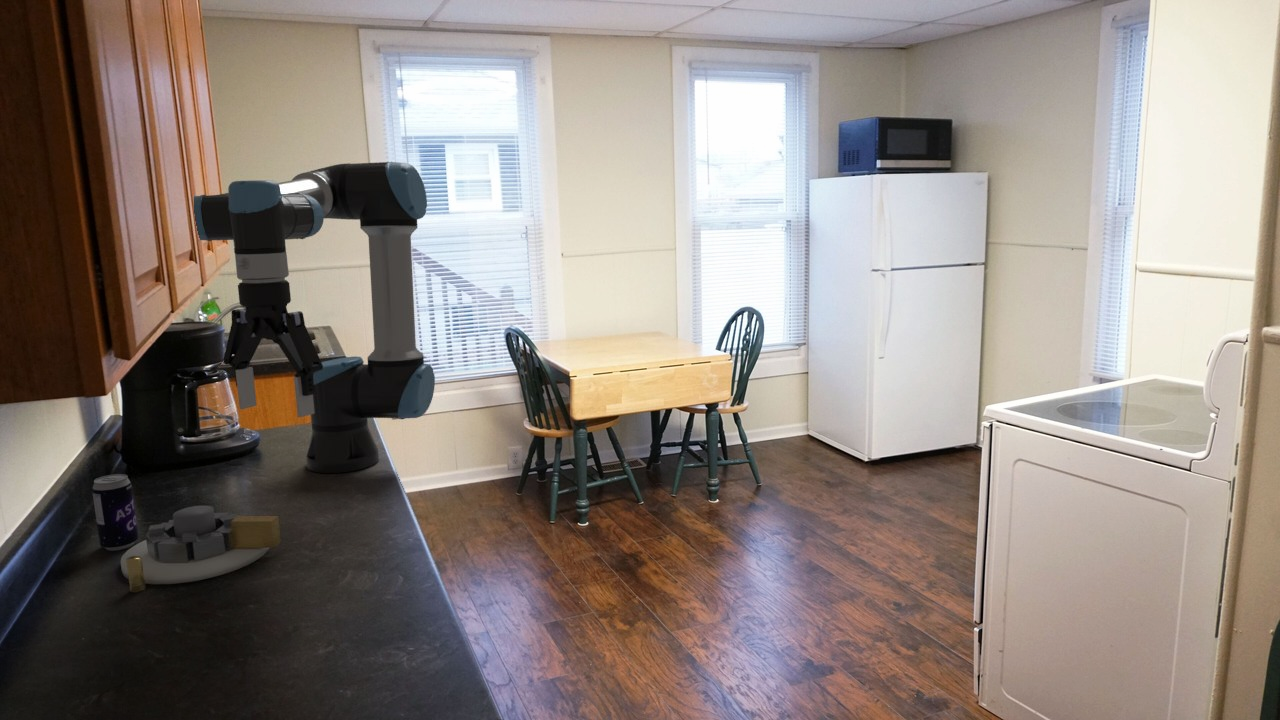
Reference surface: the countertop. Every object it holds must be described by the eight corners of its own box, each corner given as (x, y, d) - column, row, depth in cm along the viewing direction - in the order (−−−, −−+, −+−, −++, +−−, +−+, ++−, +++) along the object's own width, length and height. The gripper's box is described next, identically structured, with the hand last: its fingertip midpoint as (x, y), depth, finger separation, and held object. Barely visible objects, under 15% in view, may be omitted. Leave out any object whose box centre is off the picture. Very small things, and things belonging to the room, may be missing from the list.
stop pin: (135, 586, 133) (131, 555, 132) (148, 586, 133) (144, 555, 132) (127, 592, 131) (123, 561, 130) (140, 592, 131) (136, 561, 130)
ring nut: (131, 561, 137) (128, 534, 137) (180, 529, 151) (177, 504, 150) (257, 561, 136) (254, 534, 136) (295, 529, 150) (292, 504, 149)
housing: (172, 530, 155) (166, 489, 154) (292, 529, 154) (288, 489, 153) (89, 584, 134) (83, 538, 132) (229, 584, 133) (224, 537, 131)
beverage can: (121, 553, 146) (111, 484, 143) (92, 551, 147) (82, 483, 144) (146, 540, 151) (137, 473, 149) (118, 538, 152) (109, 472, 150)
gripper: (190, 280, 140) (205, 409, 144) (299, 284, 129) (312, 424, 132) (231, 276, 147) (244, 399, 151) (338, 279, 135) (350, 413, 139)
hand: (276, 411), depth 142 cm, fingers open, 13 cm apart
